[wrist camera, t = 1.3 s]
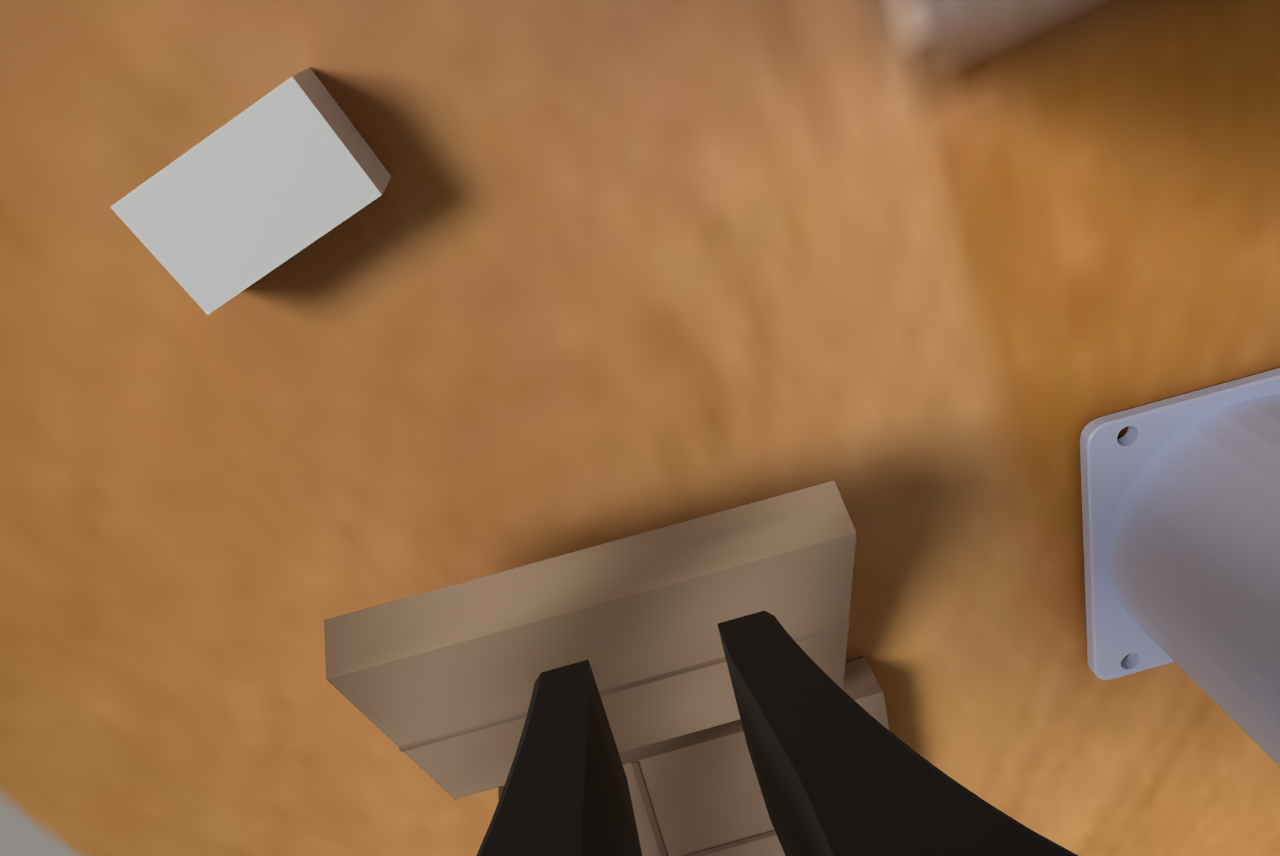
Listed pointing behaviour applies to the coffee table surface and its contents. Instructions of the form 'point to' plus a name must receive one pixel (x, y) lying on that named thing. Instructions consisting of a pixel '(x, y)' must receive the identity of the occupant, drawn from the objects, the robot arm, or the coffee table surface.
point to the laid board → (715, 786)
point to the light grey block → (255, 192)
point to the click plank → (598, 633)
